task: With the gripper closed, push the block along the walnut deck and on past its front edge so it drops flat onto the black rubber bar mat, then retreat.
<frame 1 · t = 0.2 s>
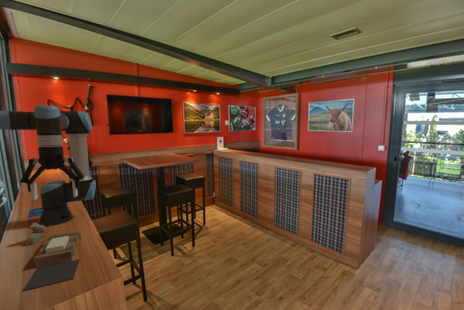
hand: (55, 197, 87), 27 cm above the table, fingers open, 13 cm apart
handheld gaming device: (38, 212, 139), on the table
mat: (54, 273, 82), on the table
block: (58, 246, 94), point 4 cm above the table, touching deck
deck: (60, 251, 97), on the table
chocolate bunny: (36, 241, 104), on the table
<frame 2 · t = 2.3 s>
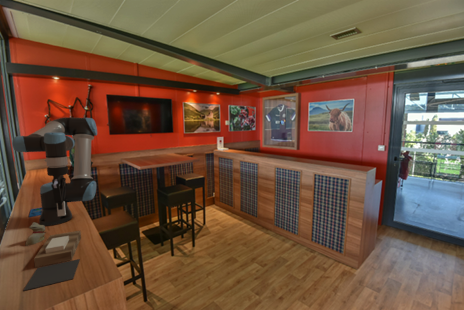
hand: (61, 215, 101), 14 cm above the table, fingers closed
nothing on the table moved.
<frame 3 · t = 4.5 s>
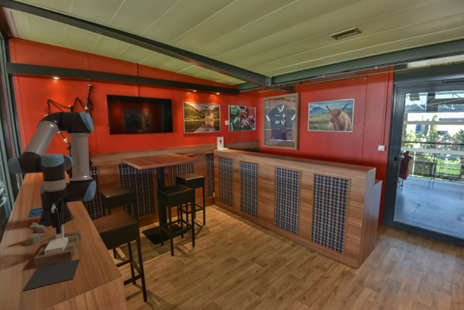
hand: (60, 239, 97), 5 cm above the table, fingers closed
block: (57, 247, 92), point 4 cm above the table, touching deck
everything else where it was.
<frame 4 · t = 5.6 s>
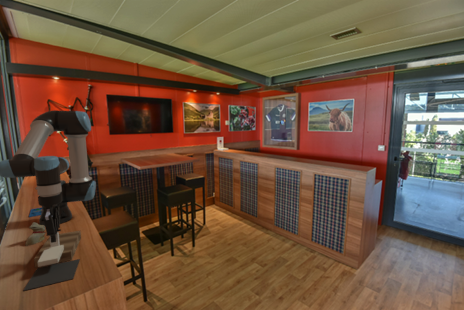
hand: (55, 247, 90), 5 cm above the table, fingers closed
block: (51, 257, 86), point 4 cm above the table, tilted 5°, touching gripper
everything else where it was.
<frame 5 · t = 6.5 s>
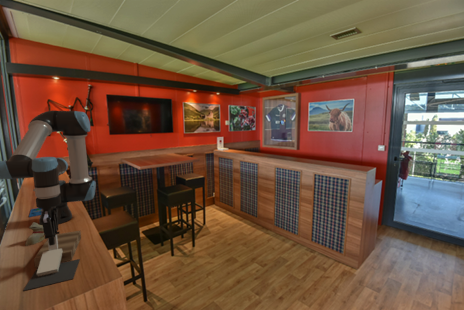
hand: (53, 250, 88), 5 cm above the table, fingers closed
block: (51, 263, 85), point 2 cm above the table, tilted 27°, touching gripper
everything else where it was.
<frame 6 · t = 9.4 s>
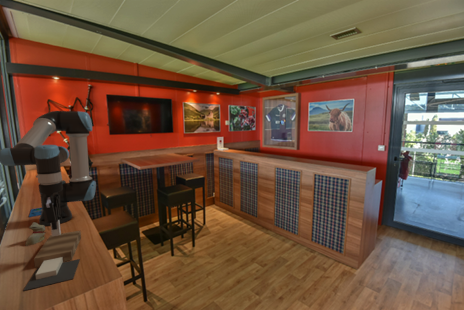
hand: (56, 235, 92), 10 cm above the table, fingers closed
block: (50, 269, 84), resting on mat
everything else where it was.
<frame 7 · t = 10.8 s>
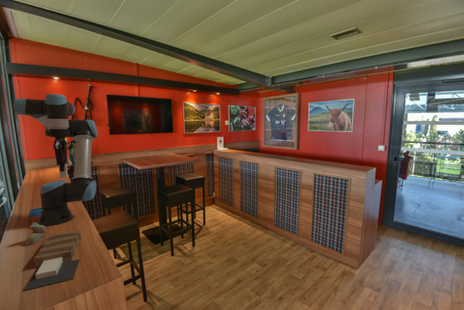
hand: (63, 177, 103), 32 cm above the table, fingers closed
nothing on the table moved.
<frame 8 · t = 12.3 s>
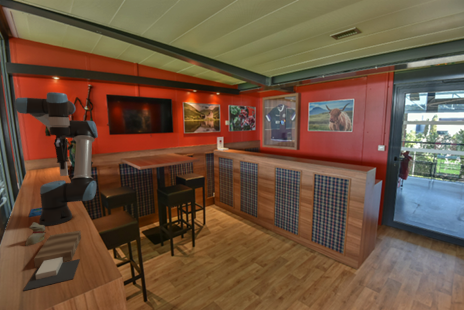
hand: (64, 175, 104), 32 cm above the table, fingers closed
nothing on the table moved.
at the end: block resting on mat; block inside the target area on the mat (3.5 cm from its centre), point 0.3 cm above the mat's base; block touching mat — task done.
